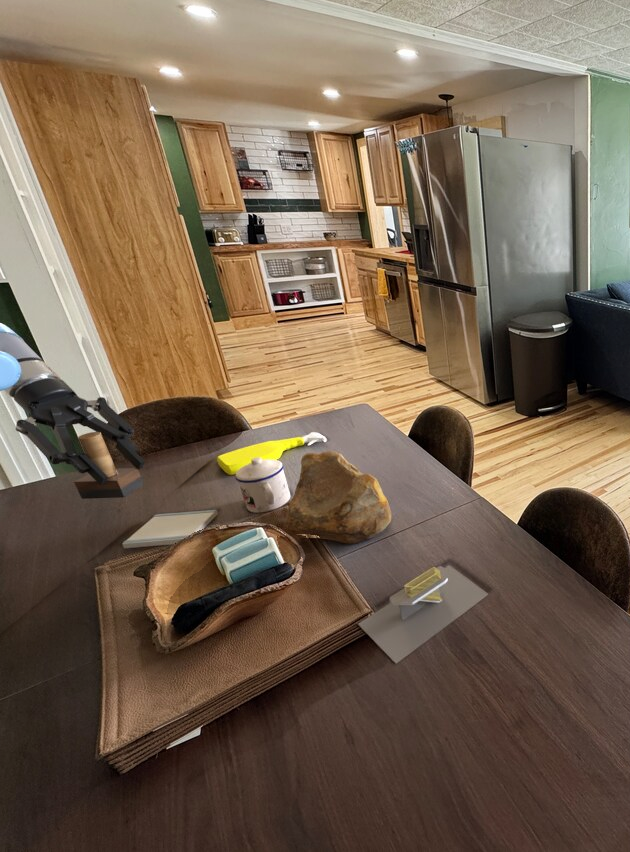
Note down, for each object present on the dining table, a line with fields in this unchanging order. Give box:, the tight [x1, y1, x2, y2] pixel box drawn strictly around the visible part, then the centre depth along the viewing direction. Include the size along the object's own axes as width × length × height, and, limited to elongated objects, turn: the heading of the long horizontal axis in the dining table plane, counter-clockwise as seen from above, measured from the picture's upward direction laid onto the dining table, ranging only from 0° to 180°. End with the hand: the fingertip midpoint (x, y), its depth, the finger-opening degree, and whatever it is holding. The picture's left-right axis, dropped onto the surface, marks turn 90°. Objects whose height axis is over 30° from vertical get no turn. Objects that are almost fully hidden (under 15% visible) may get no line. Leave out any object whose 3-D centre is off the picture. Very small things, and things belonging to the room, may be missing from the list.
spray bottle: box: [216, 431, 328, 476], centre depth 131 cm, size 3×11×24 cm
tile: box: [121, 509, 219, 549], centre depth 101 cm, size 12×10×1 cm
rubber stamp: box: [73, 431, 145, 500], centre depth 96 cm, size 8×5×13 cm, turn 95°
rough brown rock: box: [283, 450, 392, 545], centre depth 99 cm, size 23×17×15 cm
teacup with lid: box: [234, 457, 291, 514], centre depth 108 cm, size 12×9×12 cm
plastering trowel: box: [357, 565, 489, 665], centre depth 81 cm, size 12×18×7 cm, turn 142°
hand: (123, 473), depth 96 cm, fingers closed on rubber stamp, 6 cm apart
